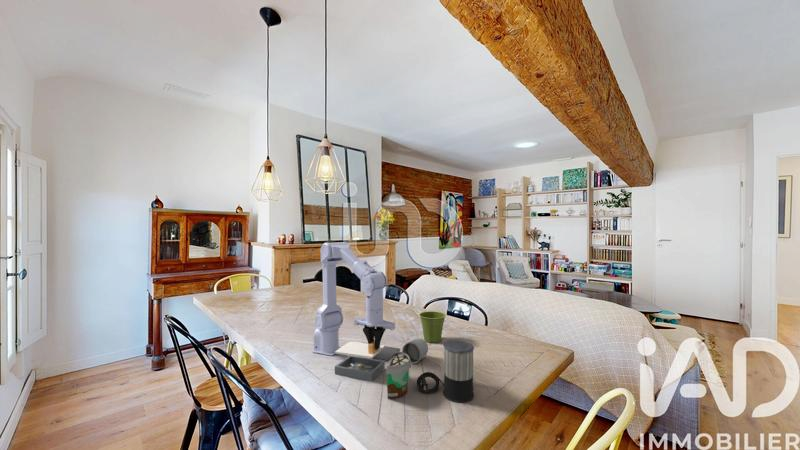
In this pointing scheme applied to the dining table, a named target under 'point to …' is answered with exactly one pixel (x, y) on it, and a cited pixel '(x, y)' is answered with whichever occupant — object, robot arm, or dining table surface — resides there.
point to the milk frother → (454, 372)
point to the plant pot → (432, 325)
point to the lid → (359, 349)
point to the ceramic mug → (415, 350)
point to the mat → (386, 353)
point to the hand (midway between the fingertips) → (374, 348)
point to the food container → (398, 375)
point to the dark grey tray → (360, 368)
